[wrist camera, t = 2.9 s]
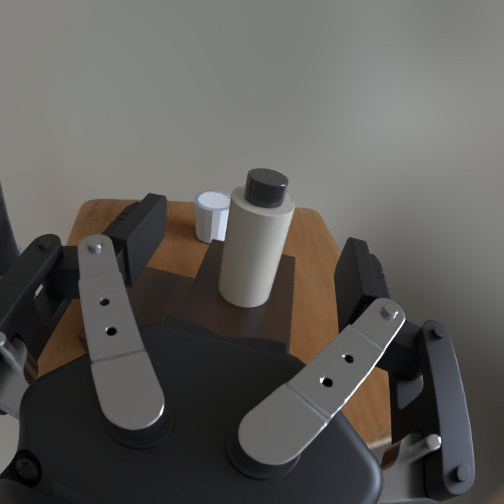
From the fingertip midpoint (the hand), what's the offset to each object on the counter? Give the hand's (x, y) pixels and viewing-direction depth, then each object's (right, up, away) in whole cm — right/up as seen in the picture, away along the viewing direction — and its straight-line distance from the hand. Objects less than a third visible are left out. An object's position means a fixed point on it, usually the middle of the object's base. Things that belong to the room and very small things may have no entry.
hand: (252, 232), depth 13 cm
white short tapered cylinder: (-7, +2, +41) cm, 42 cm away
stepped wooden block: (-8, -11, +23) cm, 27 cm away
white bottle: (-1, -4, +17) cm, 18 cm away
